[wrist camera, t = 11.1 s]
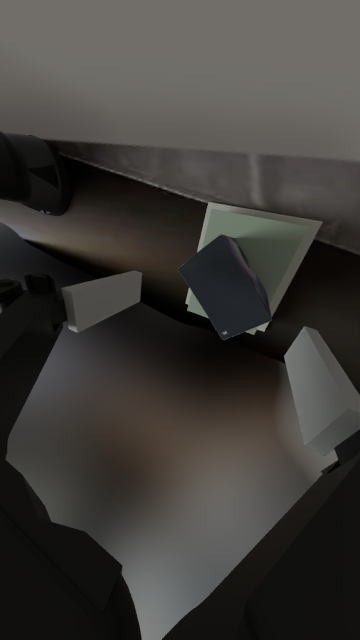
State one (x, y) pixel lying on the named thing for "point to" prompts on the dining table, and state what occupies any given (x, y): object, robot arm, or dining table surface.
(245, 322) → the small box
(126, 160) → the dining table surface
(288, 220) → the baseplate
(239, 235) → the base brick
